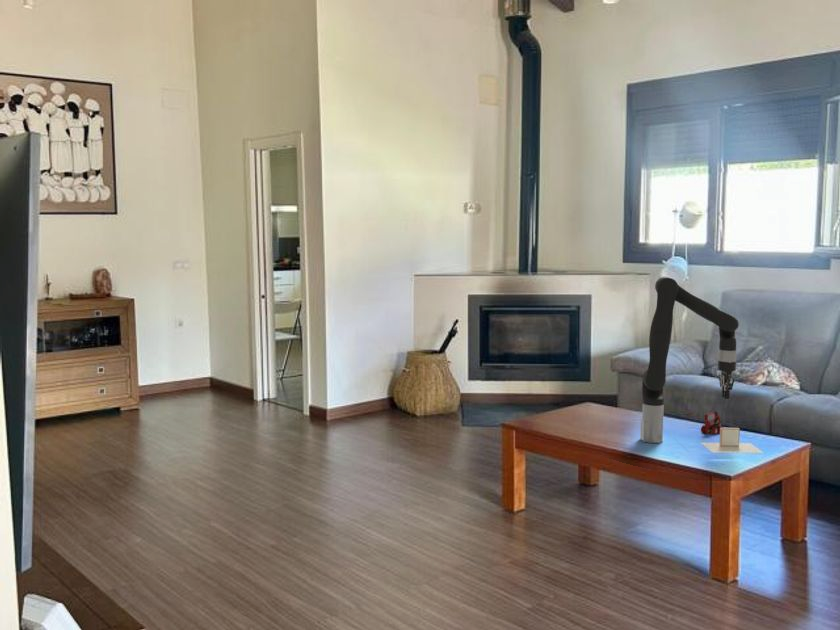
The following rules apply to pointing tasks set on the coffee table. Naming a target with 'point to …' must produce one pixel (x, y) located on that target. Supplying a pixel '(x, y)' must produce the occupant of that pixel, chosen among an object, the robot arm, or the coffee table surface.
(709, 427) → the red wheeled toy
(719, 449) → the stone board
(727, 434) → the tile
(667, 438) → the coffee table surface
